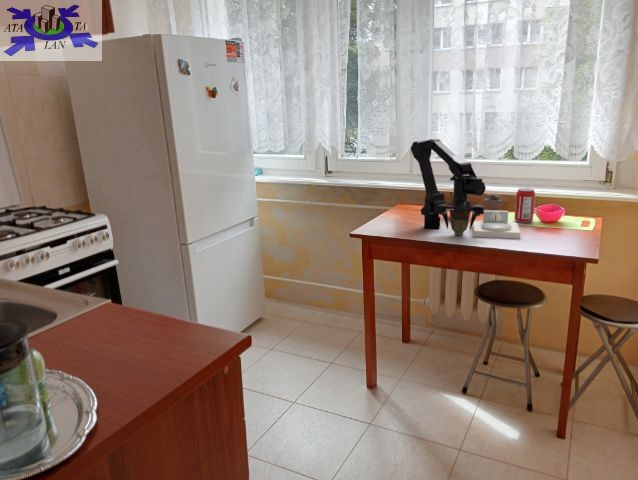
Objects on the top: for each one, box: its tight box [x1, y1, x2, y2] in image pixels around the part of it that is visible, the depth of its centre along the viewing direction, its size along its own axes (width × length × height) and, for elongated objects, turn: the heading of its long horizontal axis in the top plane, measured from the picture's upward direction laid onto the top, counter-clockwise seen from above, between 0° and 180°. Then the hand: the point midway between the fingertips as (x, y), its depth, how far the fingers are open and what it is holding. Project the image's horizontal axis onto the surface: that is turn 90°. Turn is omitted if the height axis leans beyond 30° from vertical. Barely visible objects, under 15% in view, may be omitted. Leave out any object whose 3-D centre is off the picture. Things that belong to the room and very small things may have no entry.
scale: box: [472, 210, 521, 239], centre depth 207 cm, size 18×16×8 cm
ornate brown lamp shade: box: [449, 215, 470, 237], centre depth 204 cm, size 8×7×8 cm
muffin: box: [447, 198, 474, 219], centre depth 232 cm, size 12×11×10 cm
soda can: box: [514, 187, 536, 224], centre depth 220 cm, size 8×8×15 cm
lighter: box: [484, 193, 503, 211], centre depth 235 cm, size 8×3×10 cm, turn 58°
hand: (458, 228), depth 205 cm, fingers open, 9 cm apart
